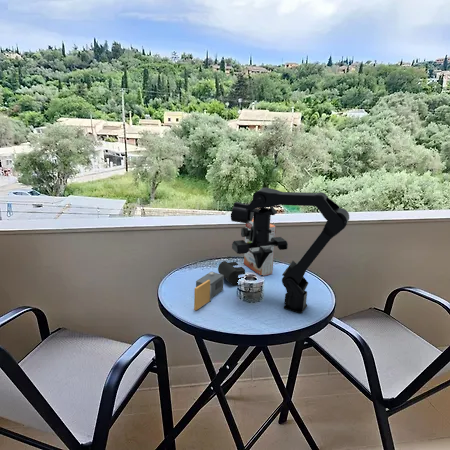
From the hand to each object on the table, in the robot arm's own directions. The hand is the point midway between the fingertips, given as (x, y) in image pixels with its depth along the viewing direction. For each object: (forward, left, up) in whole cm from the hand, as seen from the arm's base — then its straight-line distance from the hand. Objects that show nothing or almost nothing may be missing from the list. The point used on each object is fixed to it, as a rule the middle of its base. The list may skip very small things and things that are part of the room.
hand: (258, 268), depth 149 cm
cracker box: (+11, -24, -12) cm, 29 cm away
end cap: (+15, -8, -12) cm, 21 cm away
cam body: (+16, +5, -12) cm, 21 cm away
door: (+13, +15, -12) cm, 23 cm away
